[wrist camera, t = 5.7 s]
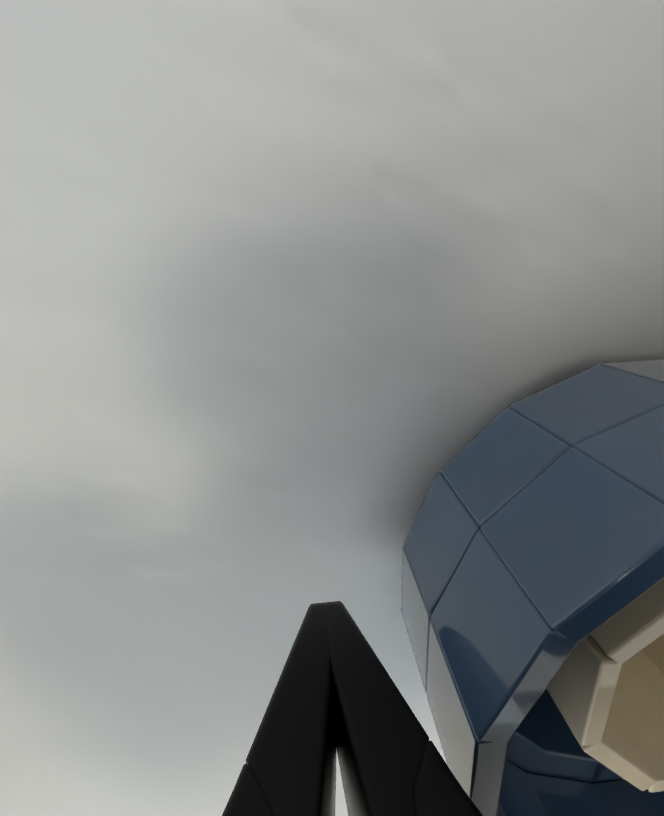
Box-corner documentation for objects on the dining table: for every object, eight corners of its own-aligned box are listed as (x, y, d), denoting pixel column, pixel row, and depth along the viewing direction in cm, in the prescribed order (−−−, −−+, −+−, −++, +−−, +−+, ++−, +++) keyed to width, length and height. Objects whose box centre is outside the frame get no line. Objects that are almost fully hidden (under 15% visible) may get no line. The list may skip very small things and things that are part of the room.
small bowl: (730, 457, 9) (951, 550, 6) (675, 630, 11) (825, 772, 8) (509, 474, 9) (621, 581, 6) (489, 648, 11) (568, 805, 8)
